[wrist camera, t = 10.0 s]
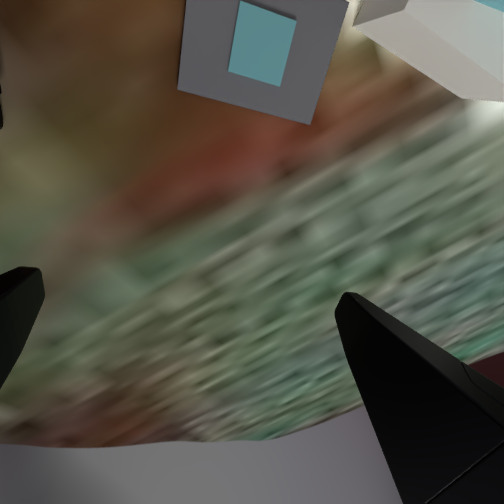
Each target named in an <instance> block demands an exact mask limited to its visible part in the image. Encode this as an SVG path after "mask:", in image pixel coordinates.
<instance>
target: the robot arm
mask: <svg viewBox="0 0 504 504" xmlns="http://www.w3.org/2000/svg"><path fill="white" fill-rule="evenodd" d="M0 94H1V86H0ZM2 127H3V118H2V112H1V106H0V129H2ZM44 298H45V290H44V284H43V279H42V273H41V271H40V269H38V268H36V267H24V266H21V267H17V268H15V269H13V270H10V271H8V272H6V273H3V274H1V275H0V389H1V387H2V385H3V384H4V382H5V380H6V378H7V377H8V375H9V373H10V372H11V370H12V368H13V366H14V365H15V363H16V361H17V359H18V357H19V356H20V354H21V352H22V350H23V348H24V345H25V343H26V341H27V339H28V336H29V334H30V332H31V329H32V327H33V325H34V322H35V320H36V318H37V315H38V313H39V311H40V308H41V306H42V304H43V301H44ZM335 319H336V323H337V327H338V330H339V334H340V337H341V341H342V345H343V348H344V352H345V355H346V358H347V361H348V364H349V366H350V369H351V371H352V374H353V376H354V379H355V382H356V384H357V387H358V389H359V392H360V394H361V397H362V400H363V402H364V405H365V407H366V410H367V412H368V415H369V418H370V420H371V423H372V425H373V428H374V430H375V433H376V436H377V438H378V441H379V443H380V446H381V448H382V451H383V454H384V456H385V459H386V461H387V464H388V466H389V469H390V471H391V474H392V477H393V479H394V482H395V484H396V487H397V490H398V492H399V495H400V497H401V500H402V502H403V504H504V388H503V387H501V386H500V385H498V384H496V383H495V382H493V381H491V380H490V379H488V378H487V377H485V376H484V375H482V374H480V373H479V372H477V371H476V370H474V369H473V368H471V367H469V366H468V365H467V364H465V363H464V362H460V360H459V359H457V358H456V357H454V356H453V355H451V354H450V353H448V352H447V351H445V350H443V349H442V348H440V347H439V346H437V345H436V344H434V343H433V342H431V341H430V340H428V339H427V338H425V337H424V336H422V335H420V334H419V333H417V332H416V331H414V330H413V329H411V328H410V327H408V326H407V325H405V324H404V323H402V322H401V321H399V320H398V319H396V318H394V317H393V316H391V315H390V314H388V313H387V312H385V311H384V310H382V309H381V308H379V307H378V306H376V305H375V304H373V303H371V302H370V301H368V300H367V299H365V298H364V297H362V296H361V295H359V294H358V293H354V292H345V293H344V294H343V295H342V297H341V299H340V301H339V303H338V305H337V307H336V309H335Z"/></svg>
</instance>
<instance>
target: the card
mask: <svg viewBox="0 0 504 504" xmlns="http://www.w3.org/2000/svg"><path fill="white" fill-rule="evenodd" d="M348 5H349V2H347V1H345V0H187V1H186V11H185V21H184V31H183V40H182V50H181V60H180V70H179V80H178V89H177V90H181V91H185V92H189V93H192V94H196V95H200V96H204V97H207V98H211V99H215V100H218V101H222V102H226V103H230V104H233V105H237V106H241V107H245V108H248V109H252V110H256V111H260V112H263V113H267V114H271V115H274V116H278V117H282V118H286V119H289V120H293V121H297V122H301V123H304V124H308V125H310V123H311V120H312V117H313V114H314V111H315V108H316V104H317V101H318V98H319V95H320V92H321V89H322V86H323V83H324V79H325V76H326V73H327V70H328V67H329V64H330V61H331V58H332V54H333V51H334V48H335V45H336V42H337V39H338V36H339V33H340V29H341V26H342V23H343V20H344V17H345V14H346V11H347V8H348Z"/></svg>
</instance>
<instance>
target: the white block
mask: <svg viewBox="0 0 504 504" xmlns="http://www.w3.org/2000/svg"><path fill="white" fill-rule="evenodd" d="M352 27H354V28H355V29H357V30H358V31H360V32H361V33H363V34H364V35H366V36H367V37H369V38H370V39H372V40H373V41H375V42H376V43H378V44H380V45H381V46H383V47H384V48H386V49H387V50H389V51H390V52H392V53H393V54H395V55H396V56H398V57H399V58H401V59H402V60H404V61H405V62H407V63H408V64H410V65H411V66H413V67H414V68H416V69H418V70H419V71H421V72H422V73H424V74H425V75H427V76H428V77H430V78H431V79H433V80H434V81H436V82H437V83H439V84H440V85H442V86H443V87H445V88H446V89H448V90H449V91H451V92H452V93H454V94H455V95H457V96H459V97H460V98H463V99H475V100H486V101H498V102H504V12H501V11H499V10H496V9H494V8H491V7H489V6H487V5H484V4H482V3H479V2H477V1H474V0H365V1H364V3H363V5H362V7H361V9H360V12H359V14H358V16H357V18H356V20H355V22H354V24H353V26H352Z"/></svg>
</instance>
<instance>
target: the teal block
mask: <svg viewBox="0 0 504 504" xmlns="http://www.w3.org/2000/svg"><path fill="white" fill-rule="evenodd" d="M474 1H477V2H479V3H482V4H484V5H487V6H489V7H491V8H494V9H496V10H499V11H501V12H504V0H474Z"/></svg>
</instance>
